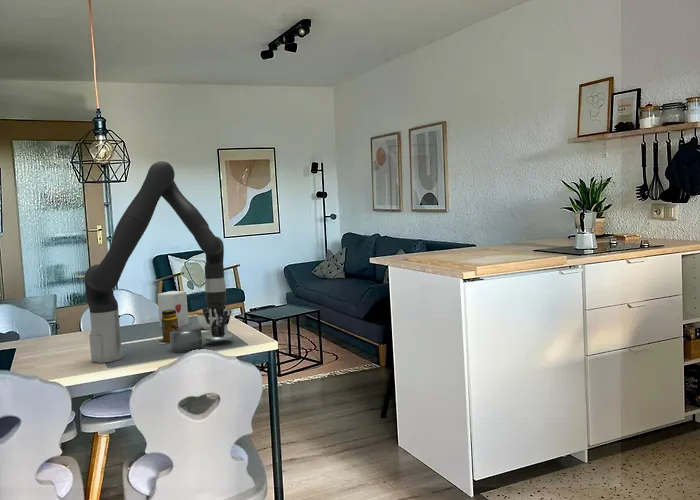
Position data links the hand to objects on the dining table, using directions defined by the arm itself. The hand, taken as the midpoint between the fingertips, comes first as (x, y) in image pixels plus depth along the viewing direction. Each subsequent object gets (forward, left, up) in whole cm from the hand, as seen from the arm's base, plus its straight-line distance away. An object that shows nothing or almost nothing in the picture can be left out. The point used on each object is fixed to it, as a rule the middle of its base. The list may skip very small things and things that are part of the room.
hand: (218, 335), depth 229 cm
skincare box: (+11, +11, -3) cm, 16 cm away
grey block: (-11, +4, -3) cm, 13 cm away
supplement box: (+16, +45, -3) cm, 48 cm away
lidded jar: (+19, +25, -3) cm, 31 cm away
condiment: (-5, +22, -3) cm, 23 cm away
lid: (0, 0, -1) cm, 1 cm away
